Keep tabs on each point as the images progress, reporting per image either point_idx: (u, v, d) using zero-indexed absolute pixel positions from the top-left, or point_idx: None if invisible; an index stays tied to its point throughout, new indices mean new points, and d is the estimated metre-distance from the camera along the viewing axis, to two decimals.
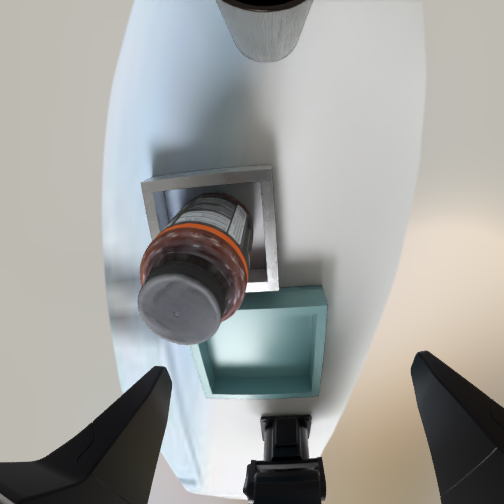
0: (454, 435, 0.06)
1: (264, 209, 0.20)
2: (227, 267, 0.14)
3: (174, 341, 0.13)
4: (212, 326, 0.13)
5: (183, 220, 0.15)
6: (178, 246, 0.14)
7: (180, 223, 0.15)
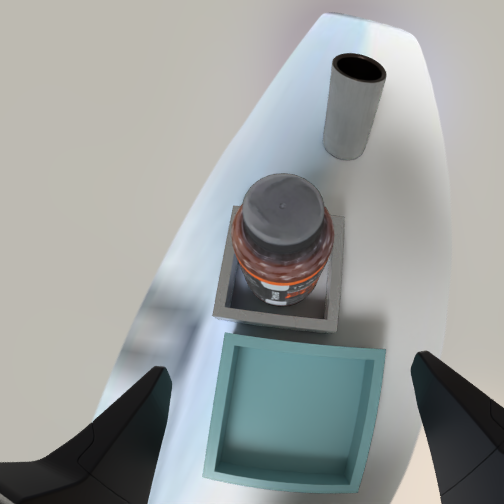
0: (454, 435, 0.06)
1: (334, 247, 0.22)
2: (323, 212, 0.16)
3: (267, 236, 0.13)
4: (313, 222, 0.13)
5: None
6: None
7: None
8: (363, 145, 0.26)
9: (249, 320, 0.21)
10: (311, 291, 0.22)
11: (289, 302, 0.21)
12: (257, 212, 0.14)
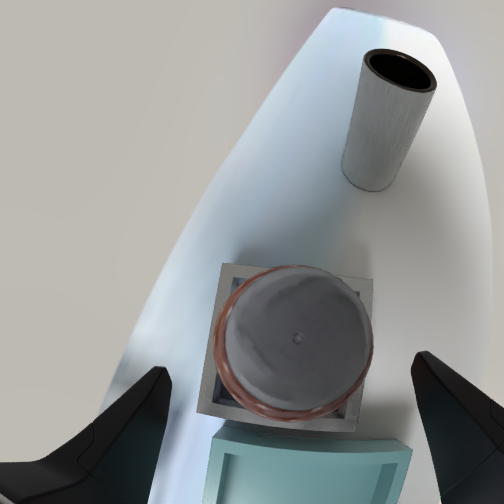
0: (454, 435, 0.06)
1: None
2: None
3: (269, 397, 0.07)
4: (352, 369, 0.07)
5: None
6: None
7: None
8: (395, 173, 0.19)
9: (244, 420, 0.14)
10: None
11: None
12: (252, 350, 0.07)
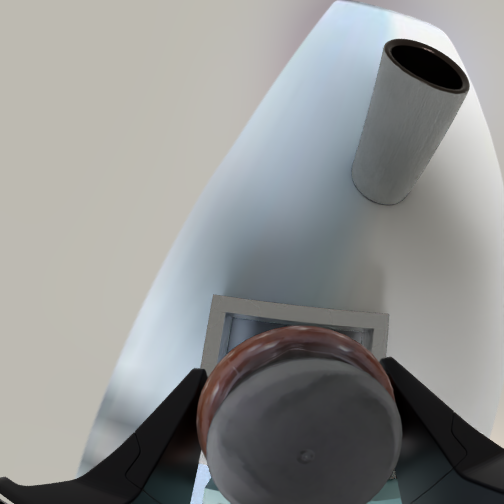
0: (413, 448, 0.06)
1: None
2: None
3: None
4: (373, 485, 0.04)
5: None
6: (312, 343, 0.07)
7: None
8: (413, 185, 0.17)
9: None
10: None
11: None
12: (242, 470, 0.04)
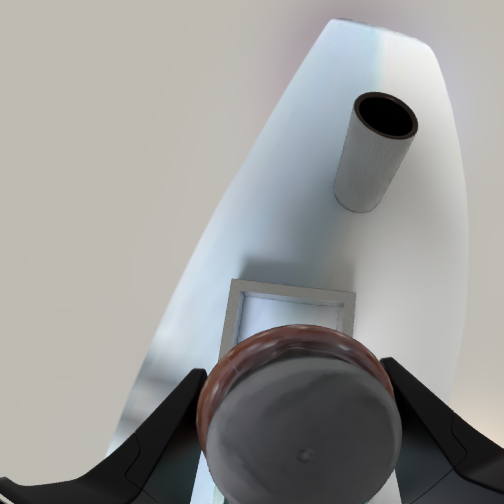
0: (413, 448, 0.06)
1: (343, 329, 0.20)
2: None
3: None
4: (373, 485, 0.04)
5: None
6: (312, 342, 0.07)
7: None
8: (380, 197, 0.23)
9: None
10: None
11: None
12: (242, 469, 0.04)
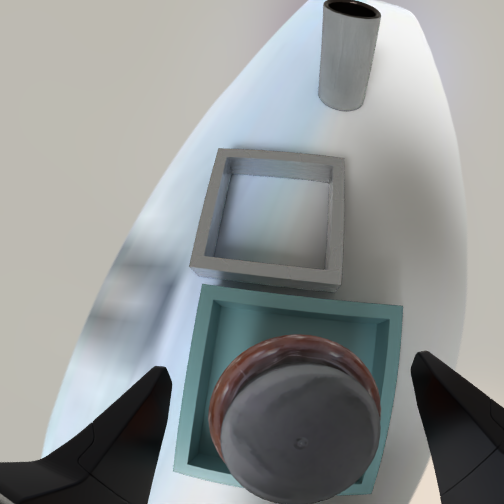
0: (454, 435, 0.06)
1: (334, 188, 0.19)
2: (369, 394, 0.08)
3: (268, 495, 0.05)
4: (356, 469, 0.05)
5: None
6: (307, 350, 0.08)
7: None
8: (362, 94, 0.22)
9: (233, 271, 0.17)
10: None
11: None
12: (250, 455, 0.06)
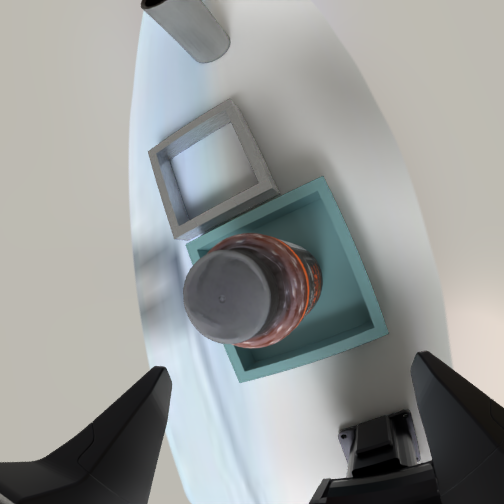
0: (454, 435, 0.06)
1: (234, 125, 0.23)
2: (274, 254, 0.13)
3: (226, 339, 0.12)
4: (261, 302, 0.11)
5: None
6: (223, 247, 0.14)
7: None
8: (221, 37, 0.24)
9: (200, 223, 0.23)
10: (321, 290, 0.20)
11: None
12: (203, 318, 0.12)
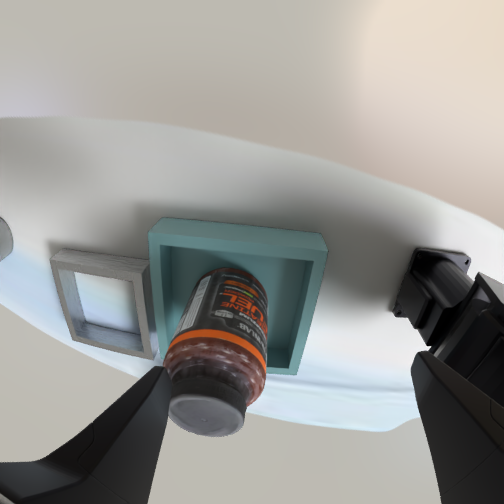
0: (454, 435, 0.06)
1: (74, 270, 0.21)
2: (189, 358, 0.14)
3: (236, 429, 0.13)
4: (218, 406, 0.12)
5: None
6: None
7: None
8: None
9: (148, 338, 0.23)
10: (253, 281, 0.21)
11: (267, 308, 0.21)
12: (214, 432, 0.13)
